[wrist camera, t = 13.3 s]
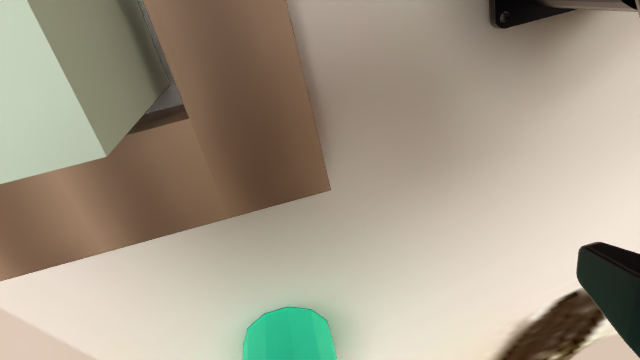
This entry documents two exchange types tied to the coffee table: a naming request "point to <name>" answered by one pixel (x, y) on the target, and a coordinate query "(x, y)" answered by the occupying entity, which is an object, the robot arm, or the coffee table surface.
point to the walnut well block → (182, 144)
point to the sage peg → (71, 81)
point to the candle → (289, 337)
